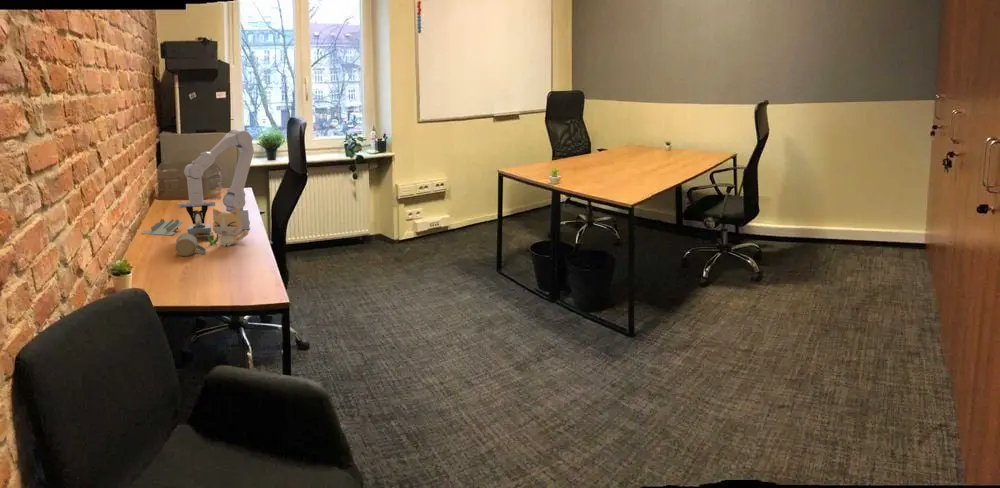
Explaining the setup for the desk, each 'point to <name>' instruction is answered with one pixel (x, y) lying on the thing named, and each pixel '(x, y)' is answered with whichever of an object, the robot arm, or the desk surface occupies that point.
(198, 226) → the pin
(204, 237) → the mount
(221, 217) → the kitten
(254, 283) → the desk surface
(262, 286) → the desk surface
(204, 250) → the ceramic mug
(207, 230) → the dock
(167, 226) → the metal bracket
